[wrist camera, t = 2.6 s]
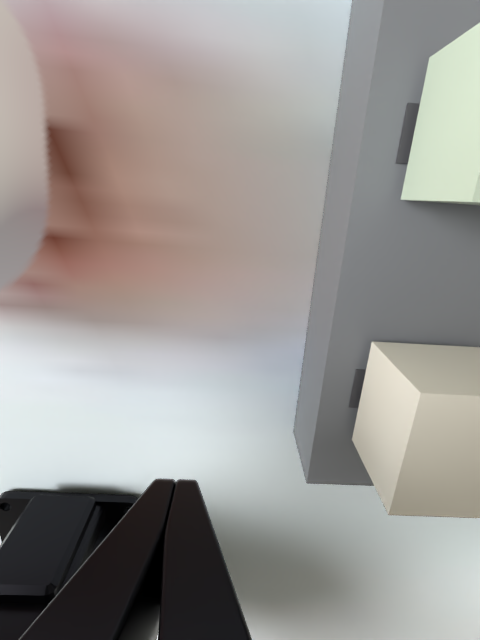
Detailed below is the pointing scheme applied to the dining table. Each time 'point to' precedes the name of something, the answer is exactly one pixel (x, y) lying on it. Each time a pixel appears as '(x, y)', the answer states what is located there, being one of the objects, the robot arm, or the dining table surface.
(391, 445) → the cream slider
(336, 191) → the control panel
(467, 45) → the sage slider
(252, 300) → the dining table surface
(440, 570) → the dining table surface
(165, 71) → the dining table surface
